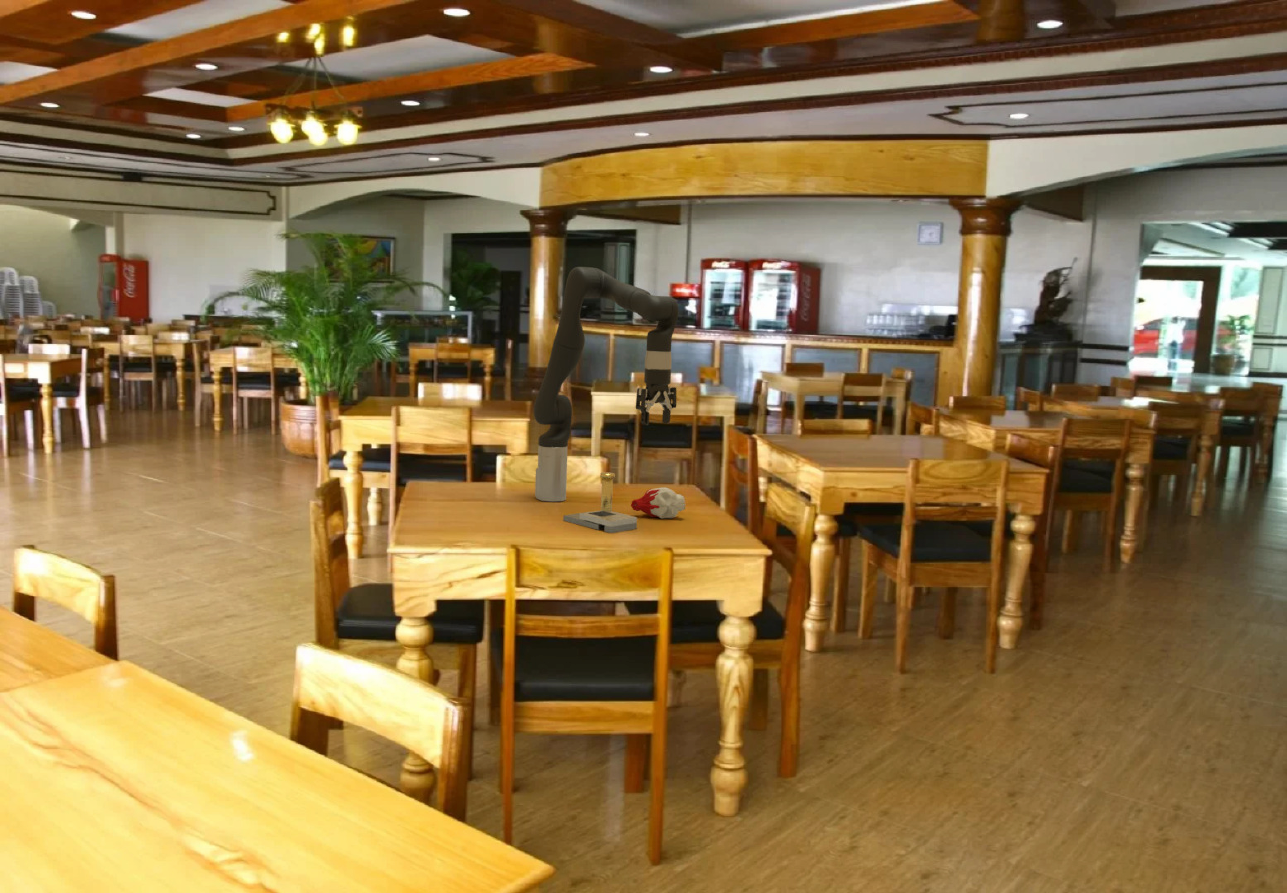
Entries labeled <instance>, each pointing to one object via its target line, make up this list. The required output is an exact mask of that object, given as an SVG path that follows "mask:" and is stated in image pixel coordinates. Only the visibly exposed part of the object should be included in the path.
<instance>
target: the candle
mask: <svg viewBox="0 0 1287 893" xmlns="http://www.w3.org/2000/svg"><path fill="white" fill-rule="evenodd" d="M686 505H687V504H686V500H685V496H683V495H682V494H679V493H676V492H675V491H674V490H672V489H671V488H668V487H658V488H657V487H656V488H650V489H648V490H647V491H646V492H644V494H643V495H642V496H641V497H639V498H637V499H636V498H635V499H633V500H632V501H631V504H630V506H631V509H632V510H633V511H636V512H642V513H644V514H647V515H648V516H650V517H651V518H660V519H673V518H676V516H677V515H678V514H679V512H682V511H684V510H686Z"/></svg>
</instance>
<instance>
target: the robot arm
mask: <svg viewBox="0 0 1287 893" xmlns="http://www.w3.org/2000/svg"><path fill="white" fill-rule="evenodd" d="M584 299H604V300H605V299H606V300H611V301H613V302H614V303H615V304H616V305H617V306H619V307H620V308H622V309H624V310H628V311H630V312H632V313H634V314H635V313H636V314H637V315H638V316H640V317H641V318H643V319H645V320H647V321H651V322H657V325H656V327H655V328H654V329H650V330H649V331H648V332H647V335H646V351H645V352H646V353H645V357H644V373H643V374H644V377H643V378H644V379H643V382H644V384H645V388H643V387H642V388H641V387H638V388H637V390H636V397H635V398H636V400H635V409H636V410H638V411H640V412H641V413H640V414H641V416H640V422H641V425H642V426H649V425H650V410H651V408H652V407H653V406H654V405H655V404H660V405H661V407H662V409H663V410H662V420H661V421H662V423H663V424H670V421H671V415H672V413H671V412H672V410H673V409H676V408H677V387H675V386H669V385H670V384H671V380H672V379H671V378H672V340H673V334H674V332H675V328H676V325H677V321H678V319H679V318H678V317H679V311H680V310H679V305H678V302H677V300H676V299H675V298H673V296H665V295H654V294H653V295H652V294H651V293H650V292H649V291H647V290H645V289H642V288H640V287H637V286H635V285H632V284H628V283H625V282H623V281H620V280H618V279H616V278H614V277H613V276H611V275H610V274H608V273H607V272H605V271H603V270H602V269H600V268H596V267H587V266H577V267H573V268H572V269H571V270H570V272H569V274H568V277H567V278H566V284H565V289H564V294H563V301H562V307H561V313H560V317H559V321H558V326H557V329H556V333H555V336H554V339H553V343H552V348H551V352H550V356H549V360H548V363H547V367H546V371H545V374H544V376H543V377H544V378H543V380H542V383H541V386H540V387H539V388H540V389H539V391H538V393H537V395H536V399H535V401H534V405H533V406H534V407H533V416H534V419H535V421H536V423H538V424H539V425H545V426H546V425H549V426H550V427H549V428H548V429H547V430H546V432H544V433H542V434H540V436H539V437H538V444H537V445H538V446H537V447H538V448H537V450H538V453H537V454H538V455H537V467H536V468H535V483H534V486H535V487H534V488H535V489H534V498H535V497H536V499H537V500H539V501H542V502H563V501H566V500H567V479H568V475H567V474H568V445H569V440H570V437H571V430H572V420H573V419H572V418H573V407H572V402H571V400H570V399H569V398H570V397H568V396H566V395H565V394H559V392H560V389H561V387H562V385H563V384H564V382H565V381H566V379H568V377H569V376H570V375H571V374H572V372H574V370H576V369H575V368H577V366H578V365H579V363H580V360H581V358H582V354H583V350H584V347H585V340H586V338H585V334H584V330H583V325H582V321H581V310H582V305H583V302H584Z"/></svg>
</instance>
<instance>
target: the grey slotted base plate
mask: <svg viewBox="0 0 1287 893" xmlns="http://www.w3.org/2000/svg"><path fill="white" fill-rule="evenodd" d="M563 522H567V523H571V524H576V525H578V526H582V527H586V528H590V529H594V530H598V531H599V530H604V531H603V532H604V533H608V534H612V533H613V534H614V533H619V532H625V531H632V530H636V529H637V528H638V527H637V526H638V524H637V522H638V518H637V517H636V516H633V515H629V514H625V513H621V512H617V511H613V510H612V511H609V510H601V509H600V510H595V511H585V512H578V513H571V514H566V515H563Z"/></svg>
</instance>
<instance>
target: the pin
mask: <svg viewBox="0 0 1287 893" xmlns="http://www.w3.org/2000/svg"><path fill="white" fill-rule="evenodd" d="M615 477H616V473H614V472H610V471H609V472H608V471H607V472H605V471H604V472H600V478H601V495H600V496H601V499H600V500H601V501H600V503H601V504H600V510H609V511H613V510H612V509H613V492H614V490H613V489H614V488H613V485H614V478H615Z"/></svg>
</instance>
